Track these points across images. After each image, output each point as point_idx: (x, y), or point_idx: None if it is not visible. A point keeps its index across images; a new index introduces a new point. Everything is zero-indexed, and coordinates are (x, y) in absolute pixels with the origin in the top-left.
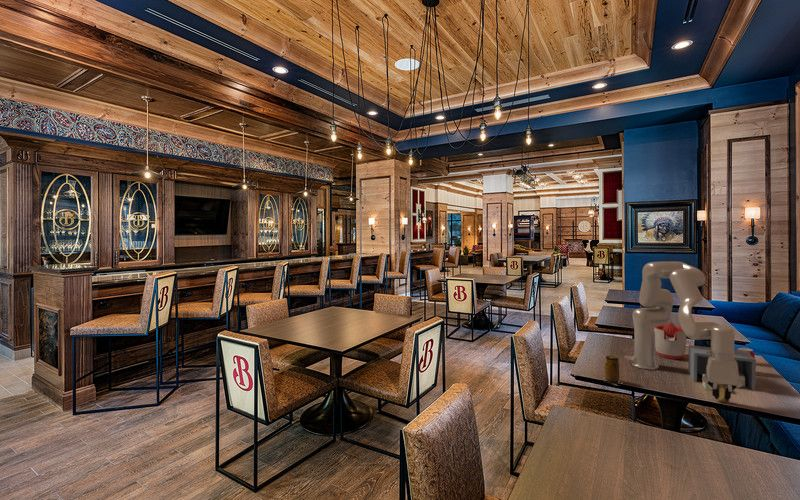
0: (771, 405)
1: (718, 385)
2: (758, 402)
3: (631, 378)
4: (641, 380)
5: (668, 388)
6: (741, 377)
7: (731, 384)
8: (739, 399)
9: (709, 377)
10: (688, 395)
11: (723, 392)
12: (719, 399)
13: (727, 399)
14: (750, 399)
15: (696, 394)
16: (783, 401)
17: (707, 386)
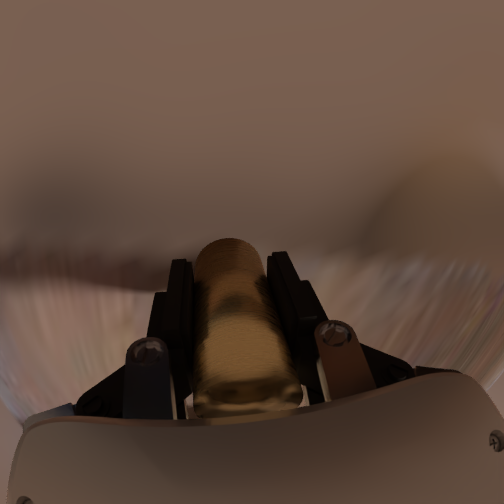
0: (6, 343)
1: (291, 392)
2: (47, 358)
3: (496, 332)
4: (482, 336)
5: (447, 319)
6: None
7: (107, 429)
8: (119, 364)
9: (498, 420)
10: (408, 278)
11: (225, 312)
12: (251, 257)
13: (185, 266)
14: (80, 379)
15: (354, 322)
16: (8, 389)
17: None
